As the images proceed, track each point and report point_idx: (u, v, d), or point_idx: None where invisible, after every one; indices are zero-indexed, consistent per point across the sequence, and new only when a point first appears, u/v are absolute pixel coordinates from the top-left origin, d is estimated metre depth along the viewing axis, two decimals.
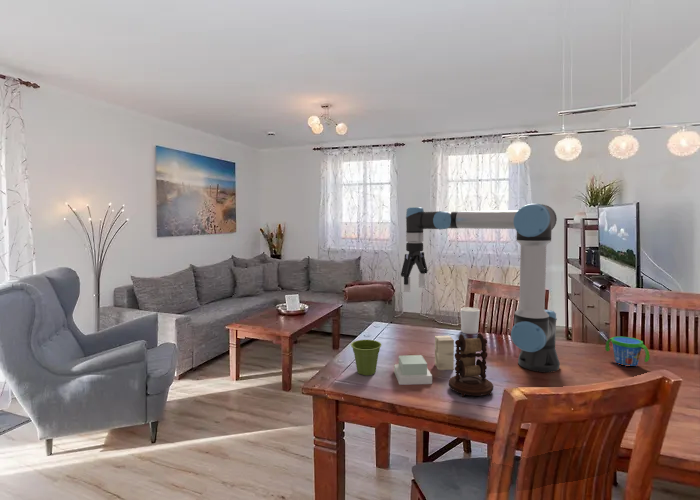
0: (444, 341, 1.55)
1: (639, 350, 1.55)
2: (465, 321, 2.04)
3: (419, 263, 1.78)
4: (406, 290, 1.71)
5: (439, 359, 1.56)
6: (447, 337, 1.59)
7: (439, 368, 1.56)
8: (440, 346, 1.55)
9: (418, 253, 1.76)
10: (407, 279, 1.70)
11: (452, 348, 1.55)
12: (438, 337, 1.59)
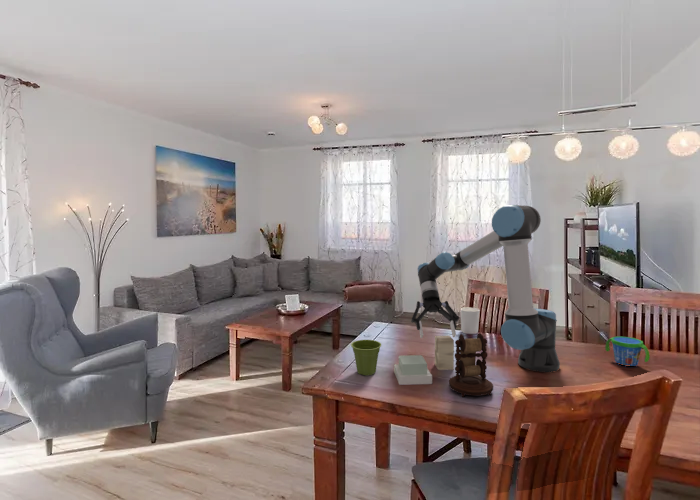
0: (444, 341, 1.55)
1: (639, 350, 1.55)
2: (465, 321, 2.04)
3: (441, 311, 1.71)
4: (420, 335, 1.64)
5: (439, 359, 1.56)
6: (447, 337, 1.59)
7: (439, 368, 1.56)
8: (440, 346, 1.55)
9: (435, 301, 1.74)
10: (418, 323, 1.67)
11: (452, 348, 1.55)
12: (438, 337, 1.59)
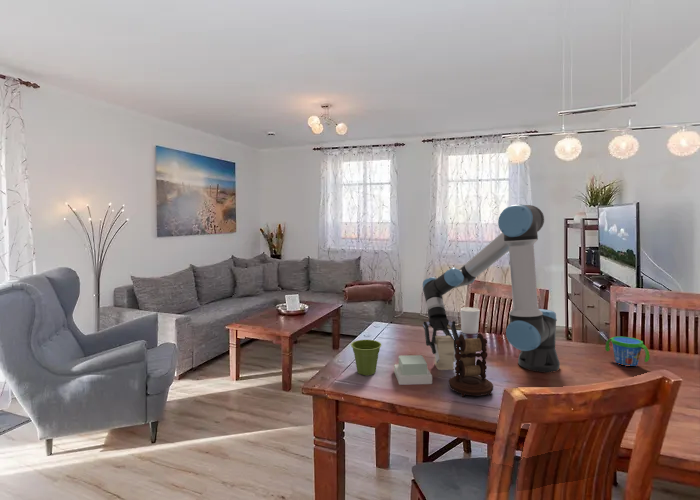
0: (444, 341, 1.55)
1: (639, 350, 1.55)
2: (465, 321, 2.04)
3: (445, 330, 1.63)
4: (436, 359, 1.55)
5: None
6: (447, 337, 1.59)
7: (439, 368, 1.56)
8: (440, 346, 1.55)
9: (443, 317, 1.66)
10: (433, 347, 1.58)
11: (452, 348, 1.55)
12: (438, 337, 1.59)
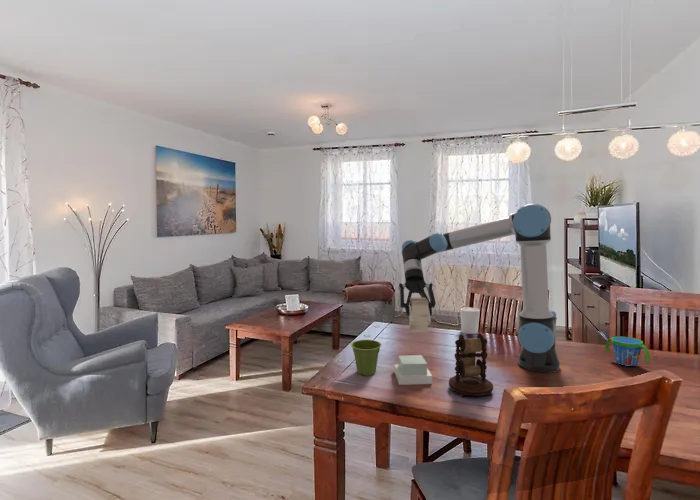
0: (418, 302, 1.48)
1: (639, 350, 1.55)
2: (465, 321, 2.04)
3: (421, 292, 1.56)
4: (410, 321, 1.48)
5: (413, 321, 1.49)
6: (422, 299, 1.51)
7: (413, 330, 1.49)
8: (414, 307, 1.48)
9: (419, 280, 1.59)
10: (407, 308, 1.51)
11: (426, 309, 1.48)
12: (413, 298, 1.52)
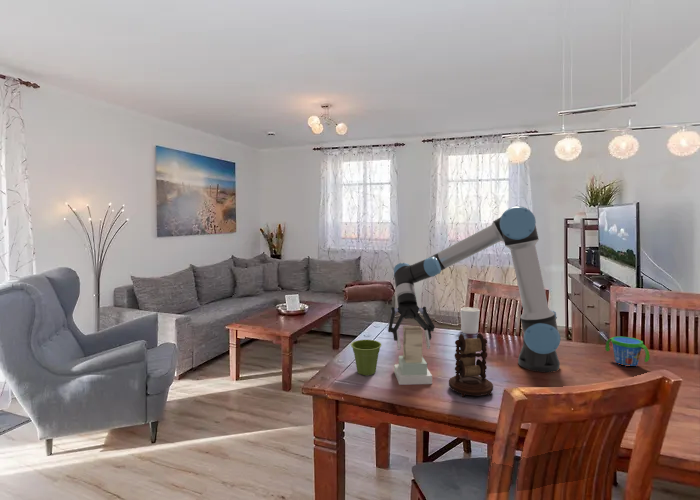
0: (412, 331, 1.44)
1: (639, 350, 1.55)
2: (465, 321, 2.04)
3: (416, 317, 1.52)
4: (398, 346, 1.45)
5: (407, 351, 1.45)
6: (416, 327, 1.48)
7: (407, 360, 1.45)
8: (408, 337, 1.44)
9: (412, 305, 1.55)
10: (395, 333, 1.47)
11: (421, 339, 1.45)
12: (406, 327, 1.48)
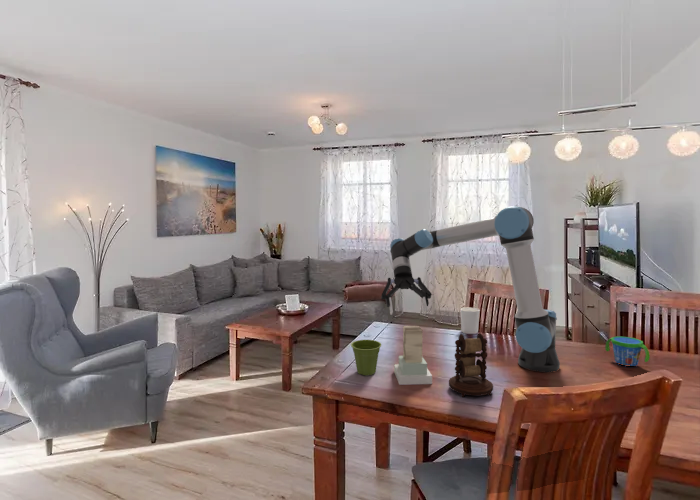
0: (412, 331, 1.44)
1: (639, 350, 1.55)
2: (465, 321, 2.04)
3: (413, 287, 1.61)
4: (390, 311, 1.54)
5: (407, 351, 1.45)
6: (416, 327, 1.48)
7: (407, 360, 1.45)
8: (408, 337, 1.44)
9: (407, 277, 1.64)
10: (388, 300, 1.57)
11: (421, 339, 1.45)
12: (406, 327, 1.48)
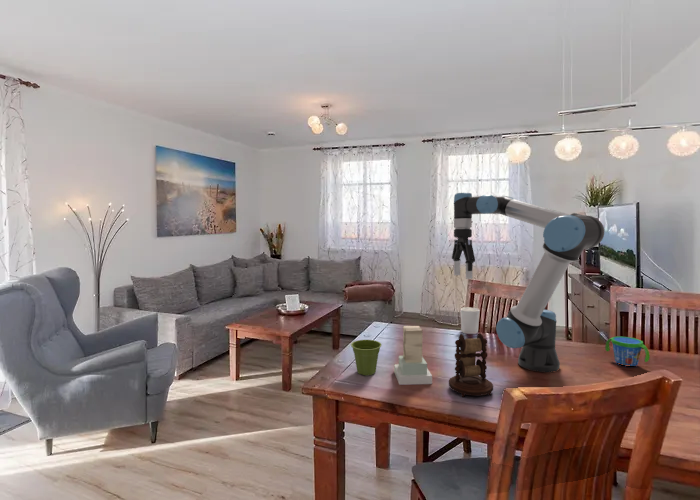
0: (412, 331, 1.44)
1: (639, 350, 1.55)
2: (465, 321, 2.04)
3: None
4: None
5: (407, 351, 1.45)
6: (416, 327, 1.48)
7: (407, 360, 1.45)
8: (408, 337, 1.44)
9: (461, 240, 1.71)
10: None
11: (421, 339, 1.45)
12: (406, 327, 1.48)
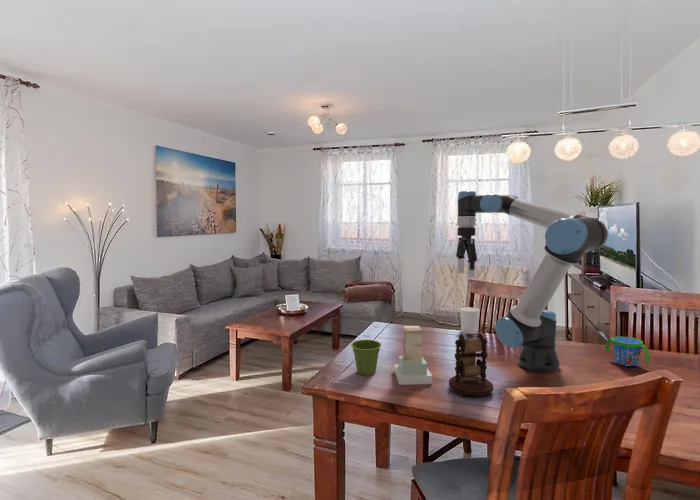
0: (412, 331, 1.44)
1: (639, 350, 1.55)
2: (465, 321, 2.04)
3: None
4: None
5: (407, 351, 1.45)
6: (416, 327, 1.48)
7: (407, 360, 1.45)
8: (408, 337, 1.44)
9: (464, 238, 1.71)
10: None
11: (421, 339, 1.45)
12: (406, 327, 1.48)
